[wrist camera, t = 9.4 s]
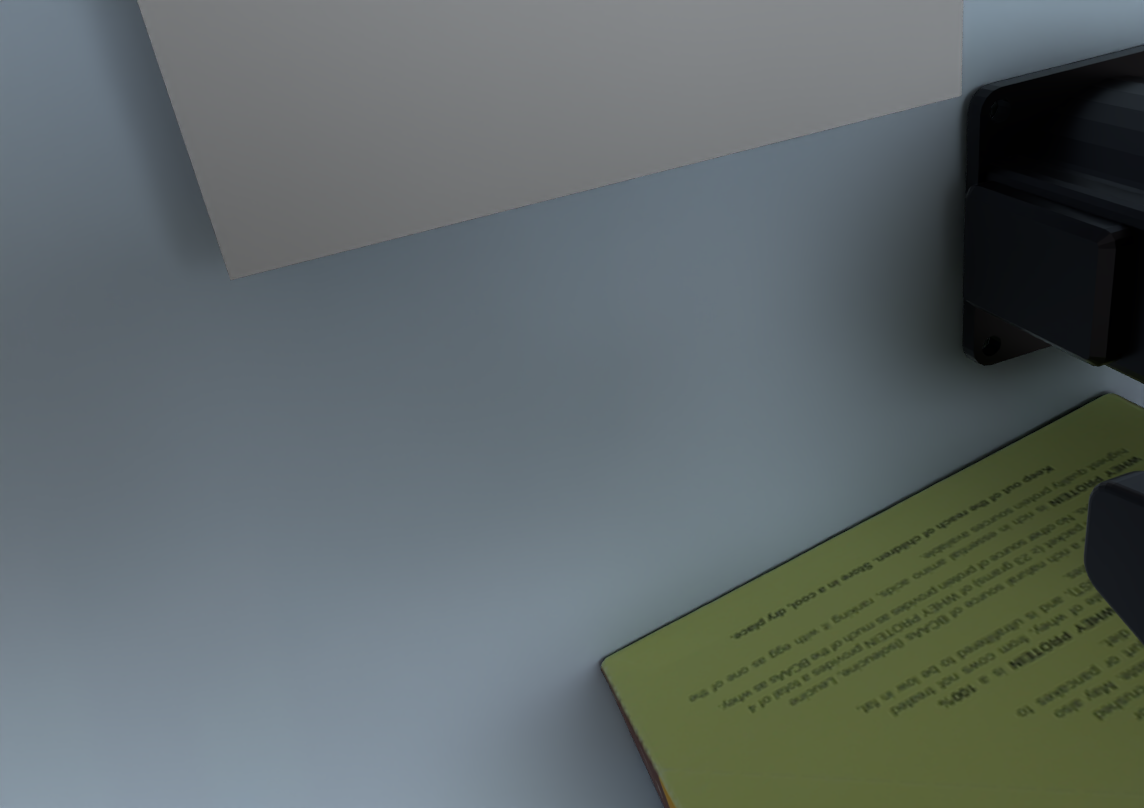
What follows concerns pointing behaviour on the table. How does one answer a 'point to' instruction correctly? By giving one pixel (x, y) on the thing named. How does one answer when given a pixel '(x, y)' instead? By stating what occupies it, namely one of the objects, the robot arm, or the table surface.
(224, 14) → the board
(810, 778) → the protein box
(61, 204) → the table surface
